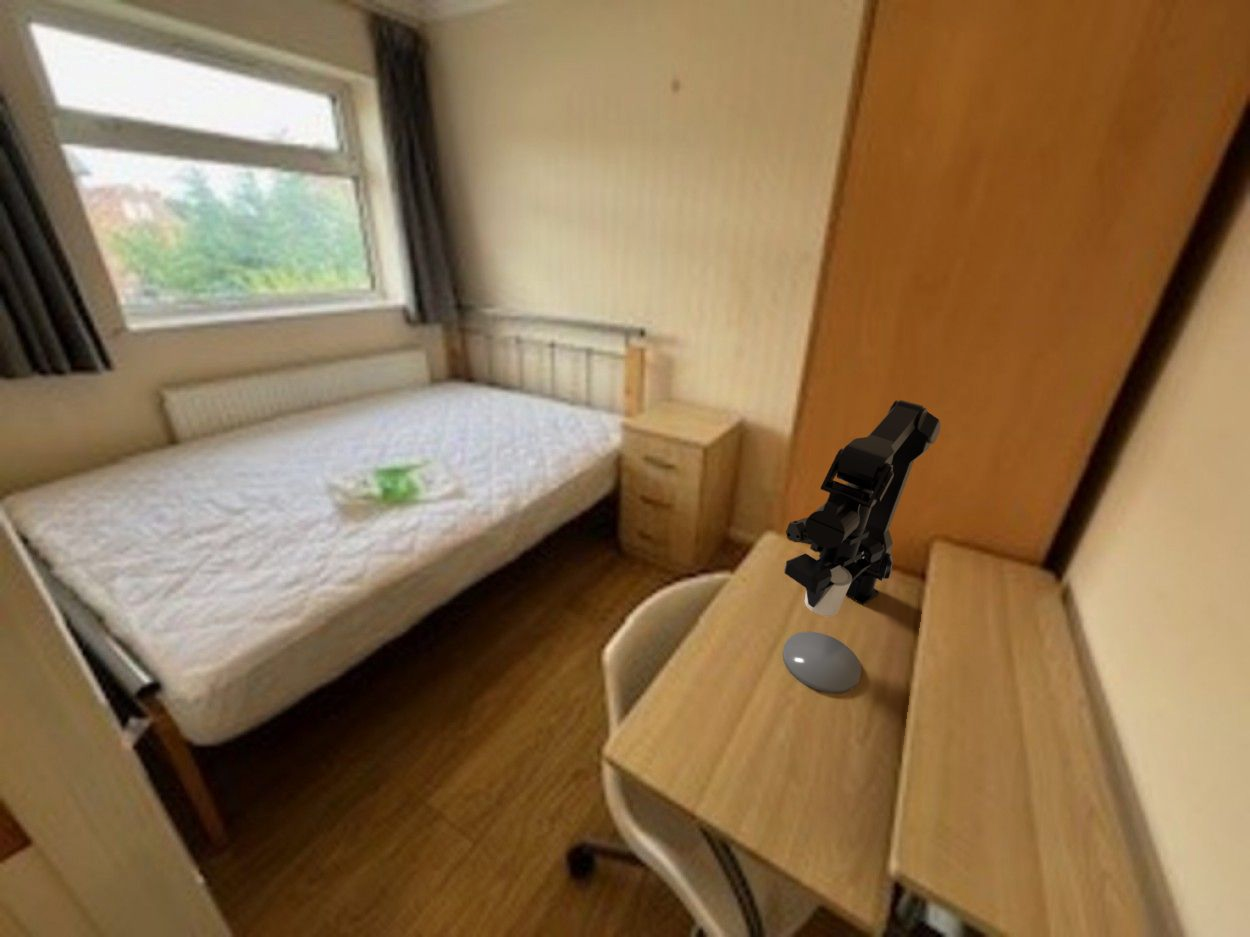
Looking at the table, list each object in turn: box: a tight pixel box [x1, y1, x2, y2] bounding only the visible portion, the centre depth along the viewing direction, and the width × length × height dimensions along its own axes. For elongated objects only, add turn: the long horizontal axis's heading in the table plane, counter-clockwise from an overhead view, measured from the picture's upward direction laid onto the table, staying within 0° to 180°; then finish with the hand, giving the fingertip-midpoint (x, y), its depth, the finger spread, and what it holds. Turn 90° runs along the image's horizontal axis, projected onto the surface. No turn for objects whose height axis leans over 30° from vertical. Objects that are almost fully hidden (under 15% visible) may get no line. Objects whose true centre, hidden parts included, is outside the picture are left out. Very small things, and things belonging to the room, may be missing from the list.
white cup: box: [804, 566, 852, 617], centre depth 93 cm, size 7×7×7 cm
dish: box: [782, 631, 862, 695], centre depth 96 cm, size 13×13×1 cm
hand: (823, 599), depth 94 cm, fingers closed on white cup, 6 cm apart
